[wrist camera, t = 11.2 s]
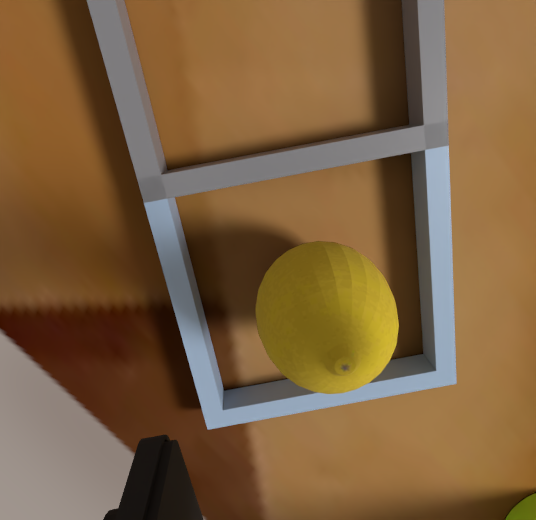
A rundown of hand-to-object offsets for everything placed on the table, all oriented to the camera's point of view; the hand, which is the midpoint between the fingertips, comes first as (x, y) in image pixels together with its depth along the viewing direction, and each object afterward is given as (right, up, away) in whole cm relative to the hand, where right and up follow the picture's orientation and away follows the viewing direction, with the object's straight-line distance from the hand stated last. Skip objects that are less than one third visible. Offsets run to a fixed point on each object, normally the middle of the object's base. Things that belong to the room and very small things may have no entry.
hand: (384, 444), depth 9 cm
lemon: (-1, +3, +11) cm, 12 cm away
